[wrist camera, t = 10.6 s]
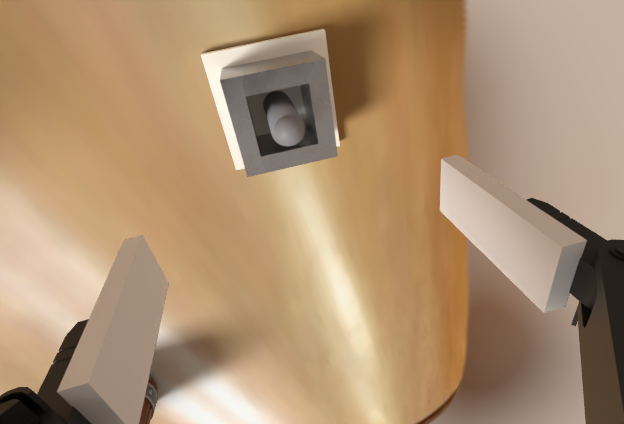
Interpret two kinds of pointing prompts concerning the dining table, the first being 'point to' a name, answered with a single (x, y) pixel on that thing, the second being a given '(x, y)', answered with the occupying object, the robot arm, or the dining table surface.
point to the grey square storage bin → (274, 76)
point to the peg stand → (275, 104)
